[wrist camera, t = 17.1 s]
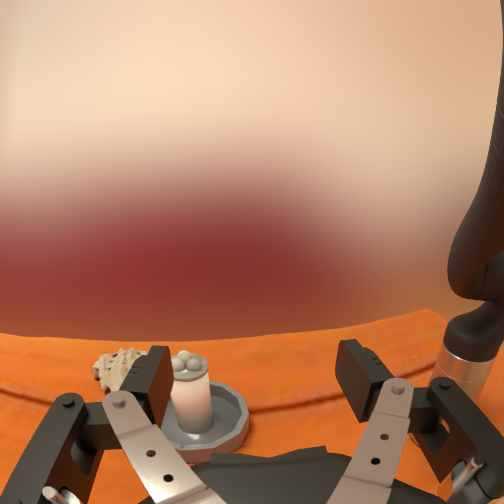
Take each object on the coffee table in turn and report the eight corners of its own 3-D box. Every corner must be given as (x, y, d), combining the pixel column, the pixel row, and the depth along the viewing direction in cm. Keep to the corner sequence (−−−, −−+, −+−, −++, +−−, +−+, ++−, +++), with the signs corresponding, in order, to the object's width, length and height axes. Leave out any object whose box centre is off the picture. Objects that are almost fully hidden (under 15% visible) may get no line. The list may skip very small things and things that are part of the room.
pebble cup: (211, 408, 42) (204, 341, 39) (217, 432, 36) (209, 364, 33) (176, 410, 41) (163, 344, 38) (177, 436, 35) (161, 367, 32)
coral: (131, 403, 42) (124, 381, 41) (83, 388, 44) (76, 367, 43) (163, 362, 57) (159, 343, 56) (119, 354, 58) (115, 335, 57)
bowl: (236, 389, 49) (235, 375, 48) (259, 454, 32) (259, 441, 32) (148, 395, 45) (144, 381, 44) (143, 463, 29) (137, 450, 28)
